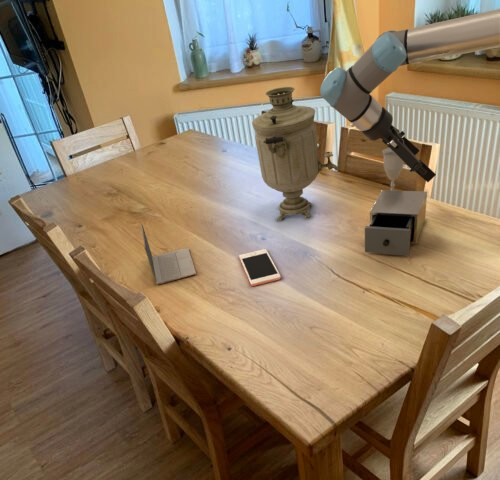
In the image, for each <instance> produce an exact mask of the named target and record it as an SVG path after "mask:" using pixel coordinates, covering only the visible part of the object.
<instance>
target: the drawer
mask: <svg viewBox="0 0 500 480" xmlns="http://www.w3.org/2000/svg"><path fill="white" fill-rule="evenodd" d="M414 222H415V217H407V216H388V215H374V217H373V219H372V221H371V223H370V222H369V225H366V226H365V227H364V253H370V254H382V255H394V256H405V257H409V255H410V250H411V248H410V247H411V244H410V243H411V241H412V238H413V236H414Z"/></svg>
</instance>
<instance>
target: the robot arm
mask: <svg viewBox="0 0 500 480" xmlns="http://www.w3.org/2000/svg"><path fill="white" fill-rule="evenodd" d="M496 48H500V8H496V9H492V10H488V11H483V12H479V13H474V14H470V15H469V14H468V15H465V16H460V17H457V18H452V19H447V20H443V21H438V22H433V23H428V24H425V25H420V26H415V27H412V28H407V29H402V30H387V31H385V32H382V33H381V34H380V35H378V37H377V38H376V39H375V40H374V42H373V43H372V44H371V45H370V46H369V47H368V49H367V50H366V51H365V52H364V53H363V54H362V55H361V56H360V57H359V58H358V59H357V60H356V61H355V62H354V63H353V64H352V65H351V66H350V67H349V68H347V70H346V69H343V68H342V67H339V66H338V67H335V68H334V69H332V70H331V71H330V72H328V74H327V75H326V76H325V77H324V79H323V81H322V83H321V85H320V88H319V90H320V92H319V93H320V96H321V97H322V98H323V100H325V101H326V103H327V104H329V106H330V107H331V108H333V109H334V110H335V111H337V112H338V113H339V114H340V115H341V116H342V117H344V118H345V119H346V120H347V121H348V122H349V123H350V127H352V128H354V127H355V128H356V129H358V130H359V131H360V132H361V133H362V134H363V135H364V136H365V137H366V138H367V139H369V141H373V142H374V141H378V140H379V139H381V140H382V143H383V144H384V145H385V146H387V148H391V150H392V151H394V152H395V153H396V154H397V155H398V156H399V157H400V158H401V159H402V160H403V163H404V164H405V165H406V166H407V167H408V168H409V172H410V173H412V172H414V173H416V174H418V175H419V176H420V177H421V178H422V179H423V180H424V181H425V182H426V183H429V182H430V181H432V179H434V178H435V177H436V176H437V174H436V172H434V171H433V169H431V168H430V167H428V165H427V164H425V163H424V161H422V160H421V159H419V158H417V156H416V155H417V154H418V153H419V152H420V149H419V148H418V147H416V146H415V145H414V144H413V142H412V141H410V140H409V139H408V138H407V137H406V136H405V135H406V133H405V132H404V131H403V130H402V131H400V130H399V129H398V128H396V126H394V125H393V121H394V119H393V114H391V112H389V111H388V110H387V109H386V108H385V107H384V106H383V105H382V104H381V103H380V102H379V101H378V100H377V99H376V98H375V97H374V96H373V95H371V93H372V92H373V91H374V90H375V89H376V88H377V87H378V86H380V85H381V84H382V83H383V82H384V81H385V80H386V79H387V78H388V77H390V75H392V74H393V73H394V72H396V71H397V70H398V68H399V67H402V66H406V65H407V66H408V65H411V64H417V63H422V62H427V61H432V60H438V59H443V58H448V57H454V56H460V55H464V54H469V53H470V54H471V53H474V52H480V51H487V50H491V49H496Z"/></svg>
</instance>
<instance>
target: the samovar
mask: <svg viewBox="0 0 500 480" xmlns="http://www.w3.org/2000/svg"><path fill="white" fill-rule="evenodd" d="M295 89H296V88H295V87H292V86H282V87H277V88H274V89H270V90H267V91H266V92H265V96H267V97H268V98H269V103H270V105H271V106H272V108H270V109H269V110H268V111H265V112H263V113H261V114H260V115H258V116H256V117H255V118H254V119H253V120H252V121H251V125H252V127H253V130H254V132H255V137H254V138H255V146H256V151H257V156H258V163H259V167H260V174H261V178H262V180H263V182H264V184H265V185H267V187H269V188H271V189H273V190H275V191H277V192H280V193H282V197H283V198H284V199H283V200H282V201H281V202H280V204H279V207H278V211H279V215H278V216H277V218H276V219H277V221H280V222H281V221H283V219H284V218H285V217H286V216H287V215H288V216H297V215H299V214H300V215H303V216H304V217H305V219H311V218H312V216H311V215H310V213H309V209H311V208H310V206H313V204H312V202H311V201H309V200H308V199H307V198H305V197H303V194H304V190H303V189H306V188H307V187H309V186H310V185H311V184H312V183H313V182H314V181H315V180H316V179H317V177H318V174H319V173H320V172H322V171H323V169H324V168H325V169H326V168H327V169H328V170H329V171H330V170H332V169H334V170H335V171H339V170H340V168H339V166H337V165H336V164H335V163H333V162H332V161H331V157H334V153H333V151H326V152H323V153H322V155H323V158H327V163H323V164H322V161H321V160H320V156H319V146H318V145H319V144H318V136H317V135H318V134H317V125H316V124H315V123H314V121H315V116H316V115H315V114H316V109H315V108H313V107H311V106H306V105H295V104H293V103H294V101H295V100H294V99H293V93H294V91H295Z"/></svg>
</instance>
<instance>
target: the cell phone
mask: <svg viewBox="0 0 500 480" xmlns="http://www.w3.org/2000/svg"><path fill="white" fill-rule="evenodd" d="M238 259H239V260H240V262H241V265H242V267H243V270H244V272H245V275H246V277H247V279H248V281H249V283H250V286H252V287H255V286H259V285H263V284H267V283H271V282H276V281H279V280H281V278H282V277H281V274H280V272H279V270H278V269H277V267H276V264H275V263H274V261H273V259H272V257H271V255H270V254H269V252H268V250H267V248H264V249H259V250H255V251H251V252H246V253H243V254H239V255H238Z"/></svg>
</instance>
